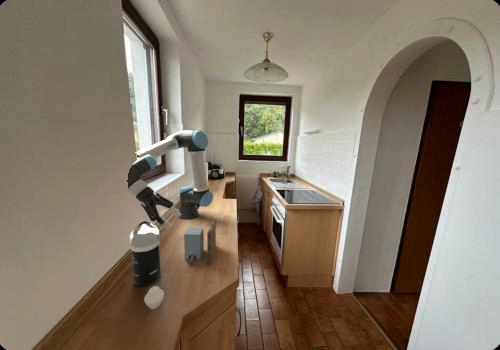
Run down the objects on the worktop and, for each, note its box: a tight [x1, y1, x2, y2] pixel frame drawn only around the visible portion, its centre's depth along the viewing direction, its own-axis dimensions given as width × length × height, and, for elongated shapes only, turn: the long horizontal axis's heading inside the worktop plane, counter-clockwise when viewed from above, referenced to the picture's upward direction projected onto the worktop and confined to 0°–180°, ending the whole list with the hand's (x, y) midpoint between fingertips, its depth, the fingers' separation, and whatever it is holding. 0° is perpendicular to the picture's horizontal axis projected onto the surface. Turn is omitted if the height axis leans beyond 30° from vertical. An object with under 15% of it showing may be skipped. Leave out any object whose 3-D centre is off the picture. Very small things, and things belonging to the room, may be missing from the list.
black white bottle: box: [129, 220, 162, 287], centre depth 74 cm, size 10×10×25 cm
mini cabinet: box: [183, 226, 205, 260], centre depth 92 cm, size 8×8×13 cm
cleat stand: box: [188, 218, 217, 266], centre depth 92 cm, size 16×10×16 cm, turn 2°
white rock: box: [143, 285, 165, 310], centre depth 63 cm, size 6×6×7 cm
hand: (175, 221), depth 90 cm, fingers open, 13 cm apart
